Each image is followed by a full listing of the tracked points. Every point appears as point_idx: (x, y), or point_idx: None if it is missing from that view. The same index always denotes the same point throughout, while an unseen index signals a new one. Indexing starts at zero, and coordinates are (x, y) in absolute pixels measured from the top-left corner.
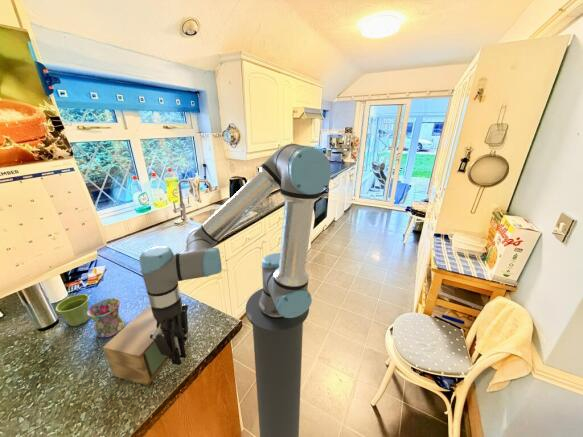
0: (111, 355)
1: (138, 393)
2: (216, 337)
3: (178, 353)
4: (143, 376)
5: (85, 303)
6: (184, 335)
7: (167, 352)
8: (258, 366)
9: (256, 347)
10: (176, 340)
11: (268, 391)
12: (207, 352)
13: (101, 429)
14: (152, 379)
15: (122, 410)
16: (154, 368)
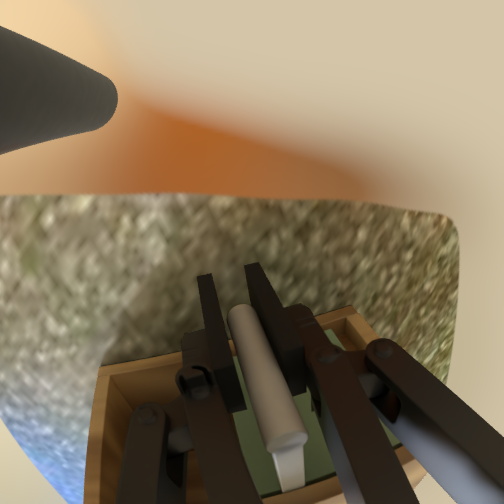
0: None
1: (378, 307)
2: (9, 228)
3: (277, 318)
4: None
5: None
6: (185, 408)
7: (420, 369)
8: (19, 110)
9: None
10: (287, 419)
11: (55, 80)
12: (99, 196)
13: (455, 294)
14: (333, 313)
15: (422, 297)
16: None
